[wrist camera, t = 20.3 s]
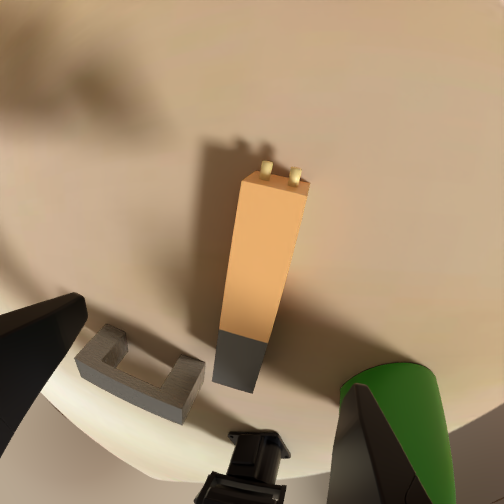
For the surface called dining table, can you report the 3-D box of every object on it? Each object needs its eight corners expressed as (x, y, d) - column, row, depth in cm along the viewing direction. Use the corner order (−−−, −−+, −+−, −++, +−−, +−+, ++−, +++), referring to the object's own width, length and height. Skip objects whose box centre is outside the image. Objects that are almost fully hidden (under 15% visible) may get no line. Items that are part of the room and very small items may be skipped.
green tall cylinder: (323, 405, 25) (287, 598, 8) (375, 347, 21) (370, 607, 3) (400, 425, 25) (397, 589, 7) (456, 375, 21) (485, 569, 3)
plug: (261, 364, 24) (252, 393, 21) (224, 353, 25) (212, 381, 22) (313, 167, 17) (311, 177, 14) (258, 155, 17) (244, 161, 14)
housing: (203, 381, 27) (182, 425, 22) (110, 343, 29) (81, 376, 24) (205, 362, 26) (181, 409, 21) (106, 323, 27) (74, 357, 22)
